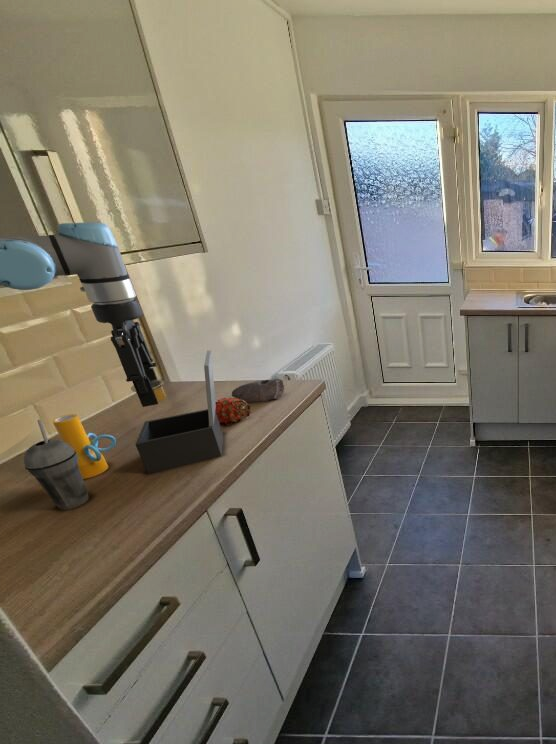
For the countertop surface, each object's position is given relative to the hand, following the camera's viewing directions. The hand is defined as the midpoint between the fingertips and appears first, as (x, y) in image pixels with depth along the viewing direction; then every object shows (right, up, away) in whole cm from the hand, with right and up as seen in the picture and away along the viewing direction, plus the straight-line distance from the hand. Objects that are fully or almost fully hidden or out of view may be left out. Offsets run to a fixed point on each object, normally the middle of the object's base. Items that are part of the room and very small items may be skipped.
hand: (153, 399), depth 96 cm
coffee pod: (0, 0, 0) cm, 0 cm away
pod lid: (+8, +3, +7) cm, 11 cm away
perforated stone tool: (+2, -2, +38) cm, 38 cm away
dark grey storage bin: (+1, -14, +9) cm, 17 cm away
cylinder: (-16, -18, +2) cm, 24 cm away
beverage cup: (-9, -22, -8) cm, 26 cm away
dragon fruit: (+1, -8, +25) cm, 26 cm away
